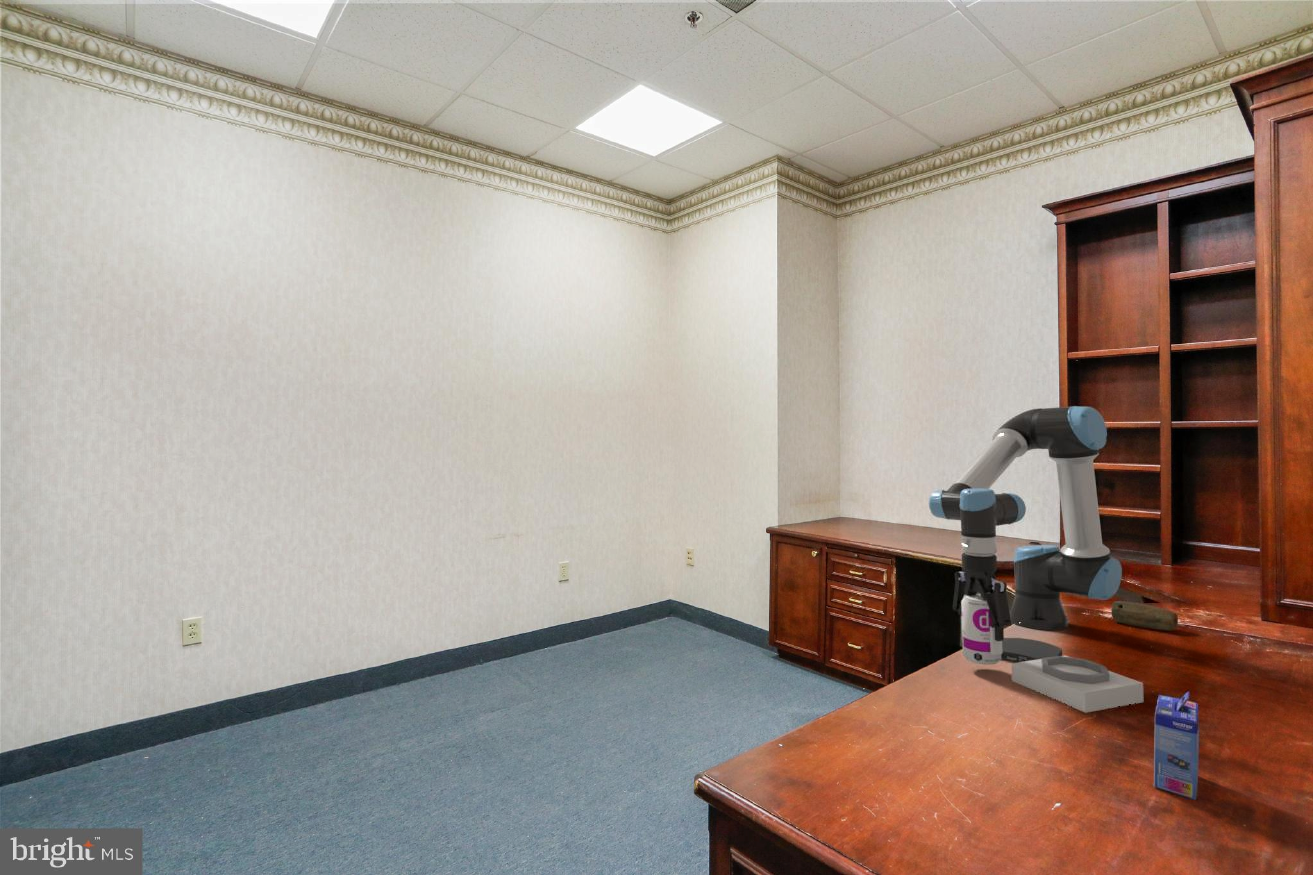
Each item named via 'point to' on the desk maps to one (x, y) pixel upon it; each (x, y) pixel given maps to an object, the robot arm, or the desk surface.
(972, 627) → the supplement can
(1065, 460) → the robot arm
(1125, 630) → the desk surface
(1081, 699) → the mount base
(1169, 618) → the stone weight
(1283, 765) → the desk surface
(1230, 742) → the desk surface
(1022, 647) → the media streaming box
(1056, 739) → the desk surface
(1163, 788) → the ink cartridge box
